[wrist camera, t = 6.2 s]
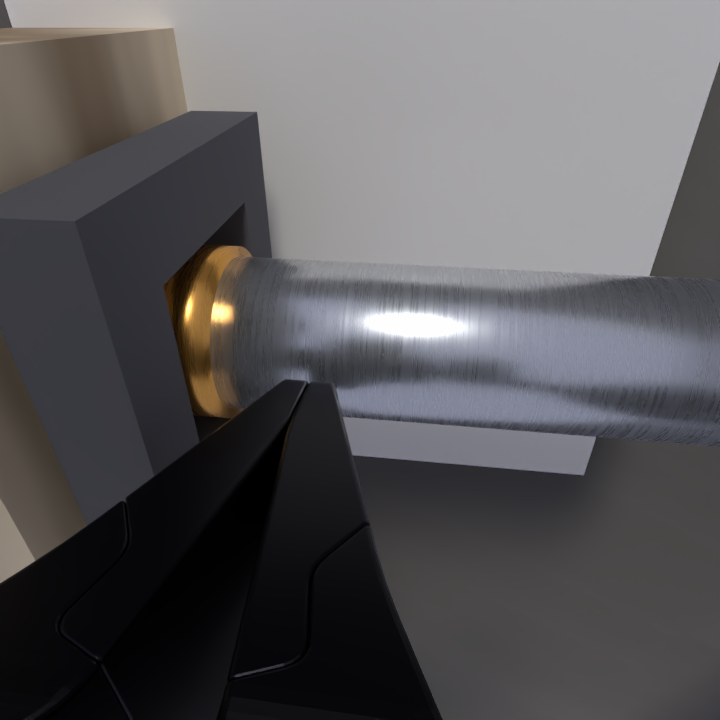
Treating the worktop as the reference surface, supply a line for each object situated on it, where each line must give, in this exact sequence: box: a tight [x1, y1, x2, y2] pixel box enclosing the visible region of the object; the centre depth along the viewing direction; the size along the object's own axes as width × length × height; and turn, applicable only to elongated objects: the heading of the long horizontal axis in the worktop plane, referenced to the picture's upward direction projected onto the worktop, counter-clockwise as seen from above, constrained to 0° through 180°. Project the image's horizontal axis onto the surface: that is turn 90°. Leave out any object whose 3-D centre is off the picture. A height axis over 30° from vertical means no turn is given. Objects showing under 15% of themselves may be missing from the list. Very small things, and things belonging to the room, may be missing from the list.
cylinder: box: [163, 244, 720, 447], centre depth 10 cm, size 16×3×3 cm, turn 90°
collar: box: [0, 111, 272, 525], centre depth 11 cm, size 2×7×7 cm, turn 0°
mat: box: [4, 0, 720, 475], centre depth 15 cm, size 16×16×1 cm
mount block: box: [0, 28, 188, 583], centre depth 11 cm, size 4×10×9 cm, turn 0°
